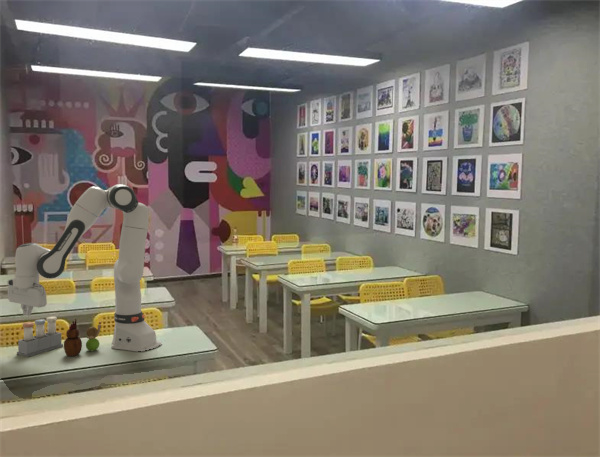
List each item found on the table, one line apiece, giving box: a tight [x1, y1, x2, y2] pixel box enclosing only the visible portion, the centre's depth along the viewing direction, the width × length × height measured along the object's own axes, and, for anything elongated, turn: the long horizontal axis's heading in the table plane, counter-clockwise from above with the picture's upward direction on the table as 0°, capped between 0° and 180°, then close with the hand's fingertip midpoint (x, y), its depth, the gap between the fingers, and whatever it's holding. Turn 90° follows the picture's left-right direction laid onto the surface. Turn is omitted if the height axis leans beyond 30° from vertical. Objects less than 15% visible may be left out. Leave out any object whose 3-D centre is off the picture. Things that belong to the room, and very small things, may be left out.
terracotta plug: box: [22, 321, 35, 342], centre depth 215 cm, size 4×4×8 cm
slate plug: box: [34, 318, 46, 339], centre depth 220 cm, size 4×4×8 cm
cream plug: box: [45, 316, 58, 335], centre depth 225 cm, size 4×4×8 cm
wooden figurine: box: [63, 318, 83, 357], centre depth 214 cm, size 7×6×15 cm
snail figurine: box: [85, 321, 102, 352], centre depth 222 cm, size 5×6×12 cm
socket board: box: [16, 331, 64, 358], centre depth 220 cm, size 7×17×6 cm, turn 153°
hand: (27, 315), depth 214 cm, fingers closed
